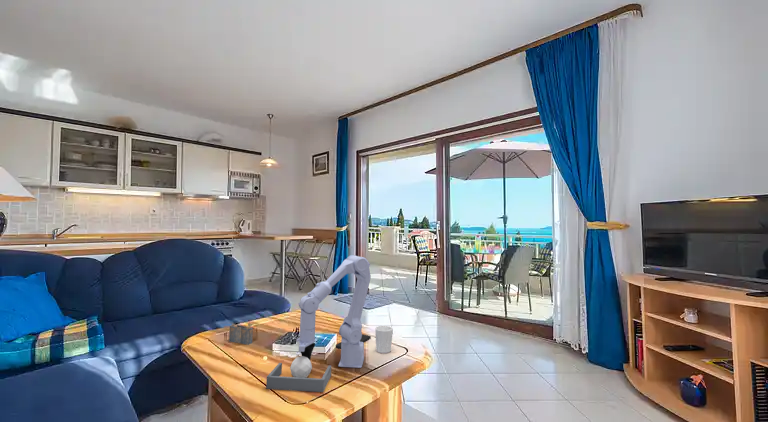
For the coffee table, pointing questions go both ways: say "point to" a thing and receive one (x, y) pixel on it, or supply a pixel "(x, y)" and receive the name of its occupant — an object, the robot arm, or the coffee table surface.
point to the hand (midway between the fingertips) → (306, 363)
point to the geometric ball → (301, 367)
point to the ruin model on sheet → (241, 334)
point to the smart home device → (363, 339)
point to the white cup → (383, 339)
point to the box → (296, 381)
